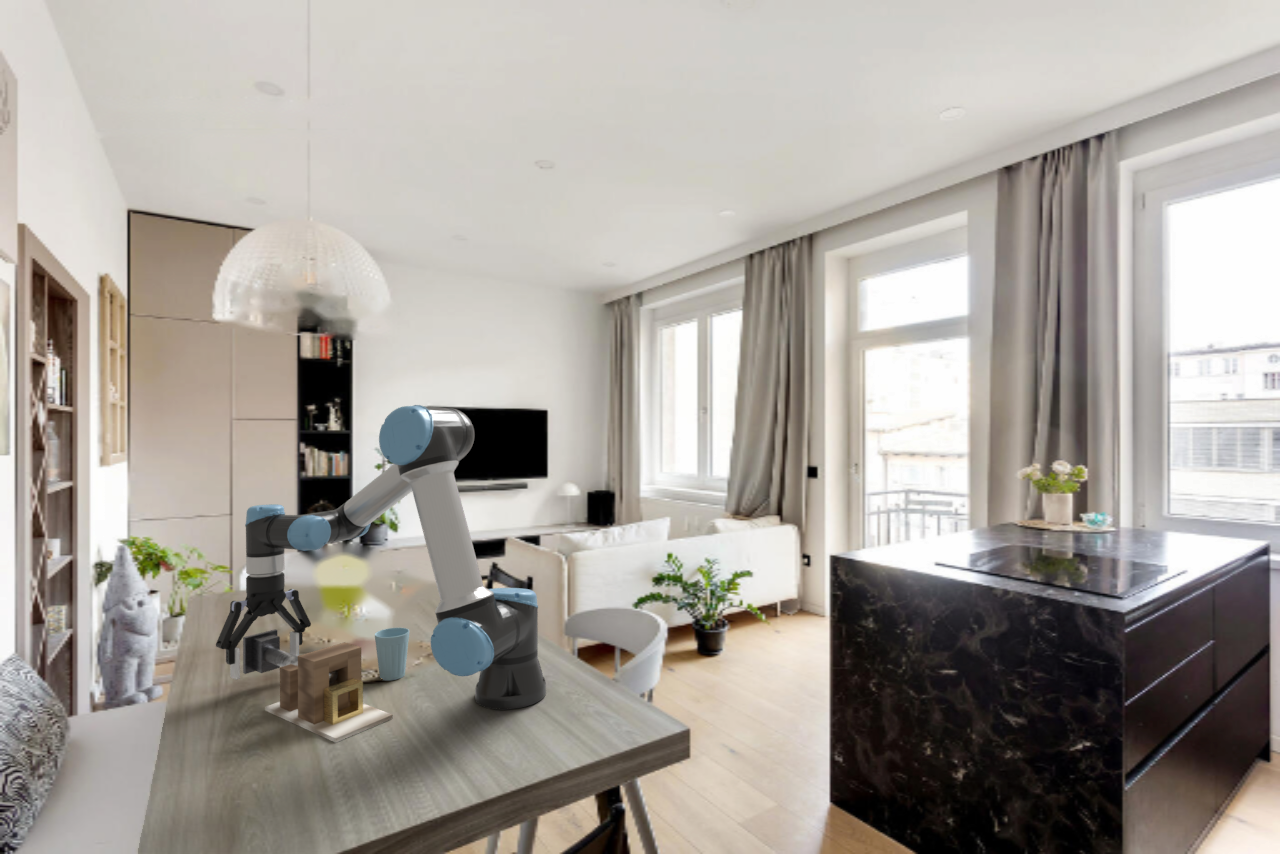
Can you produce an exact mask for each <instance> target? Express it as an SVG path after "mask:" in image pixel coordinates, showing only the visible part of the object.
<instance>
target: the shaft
mask: <svg viewBox="0 0 1280 854" xmlns="http://www.w3.org/2000/svg"><path fill="white" fill-rule="evenodd" d="M280 641H281V637H280V635H279V636H278V629H272V630H271V629H270V630H266V631H263V632H259V633H255V634H251V635H248V636H243V638H242V655H243V656H242V673H243V674H244V675H246V674H249V673H253V672H258V673H260V674H263V673H267V672H270V671H273V670H276V669H280V667H283V666H286V665H290V664H293V665H296V666H298V656H296V655H293V654H290V652H287V651H284V650H282V649H281V648H280V647H281V646H280V645H281V644H280V643H281V642H280ZM337 676H338V672H337V670H334V671H331V672H329V684H331V683H333V682H334V681H335V680H336V678H337Z"/></svg>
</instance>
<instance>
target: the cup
mask: <svg viewBox="0 0 1280 854" xmlns="http://www.w3.org/2000/svg"><path fill="white" fill-rule="evenodd" d="M374 639H375V648H376V656H377V664H378V665H377V666H378V672H379V679H380V678H382V679H383V680H382V681H386V682H387V681H388V682H389V681H395V680H399V679H402V678H403V677H405V675H406V668H407V657H408V650H409V649H408V648H409V640H410V629H409V628H406V627H389V628H384V629H381V630H378V631H376V632H375V633H374Z"/></svg>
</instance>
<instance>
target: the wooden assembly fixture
mask: <svg viewBox="0 0 1280 854" xmlns="http://www.w3.org/2000/svg"><path fill="white" fill-rule="evenodd" d="M334 670H337V672H338V676H337V678H336V680H335V681H334V682H333V683H331V684H329V672H331V671H334ZM353 678H355V679H358V680H361V681H363V680H362V646H358V645H355V644H352V643H349V642H346V641H345V642H342V643H338V644H333V645H330V646H327V647H324V648H320V649H316V650H313V651H310V652H307V653H304V654H299V656H298V666H296V665H293V664H290V665H286V666H283V667H280V668H279V701H277V702H274V703H272V704H268V705H266V706H264V710H265V712H266V713H267V712H268V713H270V714H272V715H274V716H277V717H279V718H281V719H283V720H285V721H287V722H290V723H291V724H294V725H296V726H298V727H301V728H303V729H305V730H306V731H309V732H311V733H314V734H316V735H318V736H320V737H322V738H324V739H327V740H329V741H331V742H333V743H338V742H341V741H343V740H345V738H346V739H349V738H350V737H353V736H355V735H357V734H359V733H362V732H364V731H366V730H368V729H372V728H374V727H376V726H379V725H381V724H383V723H386V722H387V721H391V720H392V719H393V717H394V715H393V714H392V713H390V712H387V711H384V710H381V709H379V708H377V707H374V706H371V705H368V704H366V703H365V702H363V713H362V714H359V715H357V716H354V717H352V718H349V719H347V720H344V721H342V722H339V723H337V724H334V725H331V724H329V723H327V722H324V689H325V688H328V687H330V686H333V685H336V684H339V683H342V682H345V681H348V680H351V679H353ZM347 707H350V691H348V692H346V693H343V694H340V695H338V711H339V710H342V709H344V708H347ZM352 735H353V736H352Z"/></svg>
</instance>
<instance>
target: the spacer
mask: <svg viewBox="0 0 1280 854" xmlns="http://www.w3.org/2000/svg"><path fill="white" fill-rule="evenodd" d="M348 691H350V707H347V708H344V709H342V710H339V711H338V695H340V694H343V693H346V692H348ZM363 703H364V682H363V680H362V681H361V680H358V679H355V678H353V679H351V680H348V681H345V682H342V683H339V684H336V685H333V686H330V687H328V688H325V689H324V722H327V723H329V724H331V725H334V724H337V723H339V722H342V721H344V720H347V719H349V718H352V717H354V716H357V715H359V714H362V713H363Z"/></svg>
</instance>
